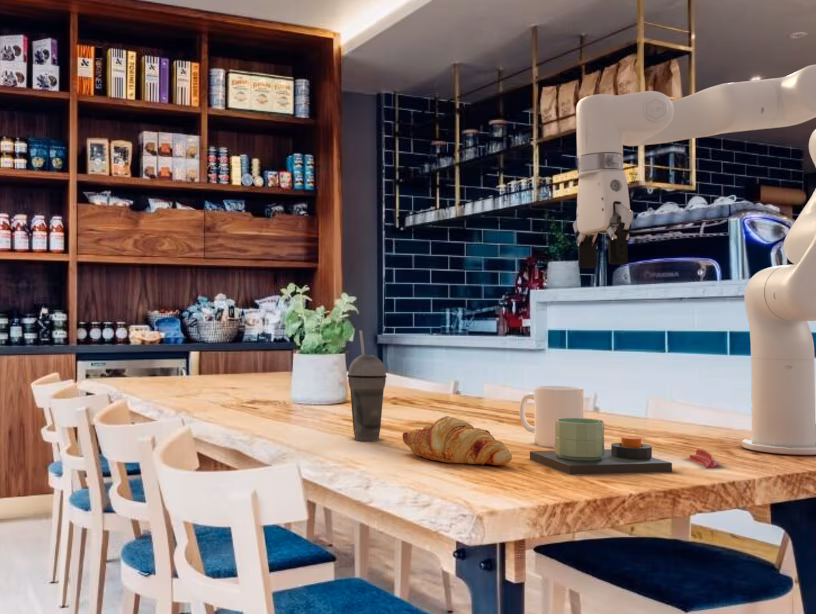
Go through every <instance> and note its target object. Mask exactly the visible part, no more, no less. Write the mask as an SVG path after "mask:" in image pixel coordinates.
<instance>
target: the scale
mask: <svg viewBox="0 0 816 614" xmlns="http://www.w3.org/2000/svg"><path fill="white" fill-rule="evenodd" d="M610 446H611V448H608V449H605V448H604V456H602V457H601V459H599V460H590V461H583V460H570V459H564V458H560V457H559V456H558V454H556V453H555V450H530V451H529V460H530V461H533V462H536V463H538V464H541V465H542V466H545V467H548V468H550V469H553V470H556V471H558V472H561V473H565V474H567V475H570V476H572V475H573V476H577V475H609V474H610V475H612V474H613V475H614V474H643V473H645V474H648V473H649V474H650V473H672V472H673V463H672V462H670V461H667V460H663V459H660V458H656V457H653V447H652V445H650V444H645V443H641V447H626V446H621V442H613V443H611V444H610Z"/></svg>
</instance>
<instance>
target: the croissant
mask: <svg viewBox="0 0 816 614" xmlns="http://www.w3.org/2000/svg"><path fill="white" fill-rule="evenodd" d="M402 441H403V443H404V444H405V445H406V446H407V447H408V448H409V449H410V450H411V453H413V454H414V455H416V456H417V457H423V458H425V459H427V460H430V461H438V462H442V463H445V464H469V465H481V466H482V465H483V466H484V465H485V464H487V465H492V466H501V465H506V464H508V463H509V462H511V461H512V460H513V454H512V453H511V452H510V450H509V448H508V447H507V446H506V445H505V443H504V442H502V441H501V440H497V439H495V437H494V436H493V434H491V432H490V431H489V430H488V429H483V428H480V427H474V425H472V424H470V423H468V421H466V420H464V419H460V418H458V417H453V416H449V415H445V416H443V417H441V418H439V419H437V420H435V422H434V423H429V424H426V425H425V426H424V427H423V428H422V429H421V428H415V429H413V430H411V431H410V432H407V431H406V432H403V433H402Z"/></svg>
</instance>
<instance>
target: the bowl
mask: <svg viewBox="0 0 816 614" xmlns="http://www.w3.org/2000/svg"><path fill="white" fill-rule="evenodd" d="M604 449H605V421H604V420H600V419H594V418H585V417H584V418H558V419H555V448H554V451H555V453H556V454H558V456H559V457H560V458H564V459H570V460H583V461H590V460H599V459H601V457H602V456H604Z"/></svg>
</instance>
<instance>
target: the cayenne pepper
mask: <svg viewBox="0 0 816 614" xmlns="http://www.w3.org/2000/svg"><path fill="white" fill-rule="evenodd" d="M688 455H689V461H692V462H695V463H698V464H701V465H703V466H704V467H705V469H709V470H710V469H717V468H719V461H718V460H716V459H715V458H713V456H712V454H711V453H710V452H708V451H706V450H704V449H700V448H697V449H696V452H695V454H688Z"/></svg>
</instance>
